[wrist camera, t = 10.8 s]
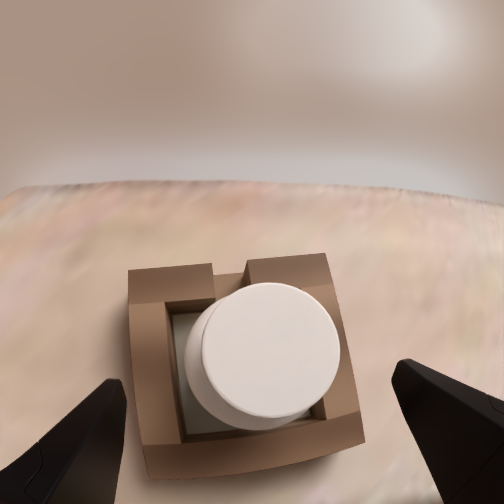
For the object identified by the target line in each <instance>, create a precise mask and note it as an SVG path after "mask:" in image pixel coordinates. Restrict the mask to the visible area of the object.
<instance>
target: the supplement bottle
mask: <svg viewBox="0 0 504 504" xmlns="http://www.w3.org/2000/svg"><path fill="white" fill-rule="evenodd" d="M339 361H340V344H339V338H338V334H337V330H336V328H335V325H334V323H333V321H332V319H331V317H330V315H329V314H328V313H327V311H326V310H325V308H324V307H323V306H322V305H321V304H320V303H319V302H318V301H317V300H316V299H314V298H313V297H312V296H311V295H309V294H308V293H306V292H304V291H302V290H300V289H298V288H295V287H293V286H289V285H286V284H281V283H258V284H253V285H250V286H247V287H244V288H241V289H239V290H237V291H235V292H234V293H232V294H231V295H229V296H226V297H224V298H222V299H220V300H218V301H217V302H215V303H214V304H212V305H211V306H210V307H208V308H207V309H206V310H205V311H204V312H203V313H202V314H201V315H200V317H199V318H198V319H197V321H196V322H195V324H194V325H193V327H192V329H191V331H190V334H189V336H188V339H187V342H186V347H185V355H184V363H185V372H186V377H187V380H188V383H189V385H190V388H191V390H192V392H193V394H194V395H195V397H196V398H197V400H198V401H199V403H200V404H201V405H202V406H203V407H204V408H205V409H206V410H207V411H208V412H209V413H210V414H212V415H213V416H215V417H216V418H218V419H219V420H221V421H222V422H224V423H226V424H229V425H231V426H234V427H237V428H241V429H247V430H267V429H272V428H276V427H279V426H282V425H285V424H287V423H290V422H291V421H293V420H295V419H297V418H298V417H299V416H301V415H302V414H303V413H305V412H306V411H307V410H308V409H309V408H310V407H311V406H312V405H314V404H315V403H316V402H317V401H318V400H320V399H321V398H322V397H323V395H324V394H325V393H326V392H327V390H328V389H329V388H330V386H331V384H332V382H333V380H334V378H335V376H336V373H337V370H338V366H339Z"/></svg>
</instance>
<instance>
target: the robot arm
mask: <svg viewBox="0 0 504 504" xmlns="http://www.w3.org/2000/svg"><path fill="white" fill-rule="evenodd" d="M391 382H392V386H393V389H394V391H395V394H396V397H397V399H398V402H399V405H400V407H401V410H402V413H403V415H404V418H405V420H406V422H407V424H408V426H409V428H410V430H411V432H412V434H413V436H414V439H415V441H416V443H417V445H418V447H419V449H420V451H421V453H422V455H423V458H424V460H425V462H426V464H427V466H428V468H429V471H430V473H431V475H432V477H433V480H434V482H435V484H436V486H437V489H438V491H439V493H440V496H441V498H442V500H443V503H444V504H504V401H502V400H500V399H497V398H495V397H493V396H490V395H488V394H486V393H484V392H481V391H479V390H477V389H475V388H472V387H470V386H468V385H466V384H463V383H461V382H459V381H457V380H455V379H452V378H450V377H448V376H446V375H444V374H442V373H439V372H437V371H435V370H433V369H431V368H429V367H426V366H424V365H422V364H420V363H418V362H416V361H414V360H412V359H403V360H400V361H399V362H398V363H397V365H396V368H395V371H394V373H393V376H392V380H391ZM126 408H127V400H126V396H125V392H124V389H123V386H122V382H121V381H120V380H119V379H106V380H105V381H104V382H103V383H102V384H101V385H100V386H98V387H97V388H96V389H95V390H94V391H93V392H92V393H91V394H90V395H88V396H87V397H86V398H85V399H84V400H83V401H82V402H81V403H80V404H78V405H77V406H76V407H75V408H74V409H73V410H72V411H71V412H70V413H68V414H67V415H66V416H65V417H64V418H63V419H62V420H61V421H60V422H59V423H57V424H56V425H55V426H54V427H53V428H52V429H51V430H50V431H49V432H47V433H46V434H45V435H44V436H43V437H42V438H41V439H40V440H39V441H38V442H39V443H38V442H36V443H35V444H34V445H33V446H32V447H31V448H30V449H28V450H27V451H26V452H25V453H24V454H23V455H21V456H20V457H19V458H18V459H16V460H15V461H14V462H12V463H11V464H10V465H8V466H7V467H6V468H4V469H3V470H1V471H0V504H114V502H115V495H116V488H117V482H118V475H119V470H120V464H121V458H122V453H123V446H124V433H125V420H126Z"/></svg>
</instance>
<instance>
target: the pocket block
mask: <svg viewBox="0 0 504 504" xmlns="http://www.w3.org/2000/svg"><path fill="white" fill-rule="evenodd" d="M258 283H281V284H286V285H289V286H293V287H295V288H298V289H300V290H302V291H304V292H306V293H308V294H309V295H311V296H312V297H313V298H314V299H316V300H317V301H318V302H319V303H320V304H321V305H322V306H323V307H324V308H325V310H326V311H327V313H328V314H329V315H330V317H331V319H332V321H333V323H334V325H335V328H336V330H337V334H338V338H339V344H340V361H339V366H338V370H337V373H336V376H335V378H334V380H333V382H332V384H331V386H330V388H329V389H328V390H327V392H326V393H325V394H324V395H323V397H322V398H321V399H320V400H318V401H317V402H316V403H315V404H314V405H312V406H311V407H310V408H309V409H308V410H307V411H306V412H305V413H303V414H302V415H301V416H299V417H298V418H297V419H295V420H293V421H291V422H290V423H287V424H285V425H282V426H279V427H276V428H272V429H267V430H247V429H241V428H237V427H234V426H231V425H229V424H226V423H224V422H222V421H221V420H219V419H218V418H216V417H215V416H213V415H212V414H210V413H209V412H208V411H207V410H206V409H205V408H204V407H203V406H202V405H201V404H200V403H199V401H198V400H197V398H196V397H195V395H194V394H193V392H192V390H191V388H190V385H189V383H188V380H187V377H186V372H185V363H184V355H185V347H186V342H187V339H188V336H189V334H190V331H191V329H192V327H193V325H194V324H195V322H196V321H197V319H198V318H199V317H200V315H201V314H202V313H203V312H204V311H205V310H206V309H207V308H208V307H210V306H211V305H212V304H214V303H215V302H217V301H218V300H220V299H222V298H224V297H226V296H229V295H231V294H232V293H234V292H235V291H237V290H239V289H241V288H244V287H247V286H250V285H253V284H258ZM128 306H129V331H130V348H131V361H132V373H133V383H134V392H135V401H136V408H137V416H138V423H139V429H140V436H141V442H142V447H143V453H144V458H145V463H146V468H147V473H148V478H149V480H171V479H192V478H205V477H216V476H225V475H233V474H240V473H247V472H253V471H259V470H265V469H270V468H275V467H280V466H285V465H289V464H294V463H298V462H302V461H306V460H310V459H314V458H317V457H321V456H325V455H328V454H332V453H335V452H338V451H341V450H344V449H348V448H351V447H354V446H357V445H359V444H362V443H365V437H364V431H363V425H362V418H361V412H360V407H359V401H358V395H357V390H356V385H355V379H354V374H353V369H352V364H351V359H350V354H349V350H348V345H347V340H346V336H345V331H344V327H343V322H342V318H341V314H340V309H339V305H338V301H337V297H336V293H335V289H334V285H333V281H332V277H331V273H330V269H329V265H328V262H327V258H326V254H325V253H318V254H308V255H297V256H286V257H275V258H264V259H253V260H247V263H246V267H245V270H244V273H234V274H223V275H213V270H212V263H207V264H196V265H184V266H173V267H161V268H149V269H137V270H128Z"/></svg>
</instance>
